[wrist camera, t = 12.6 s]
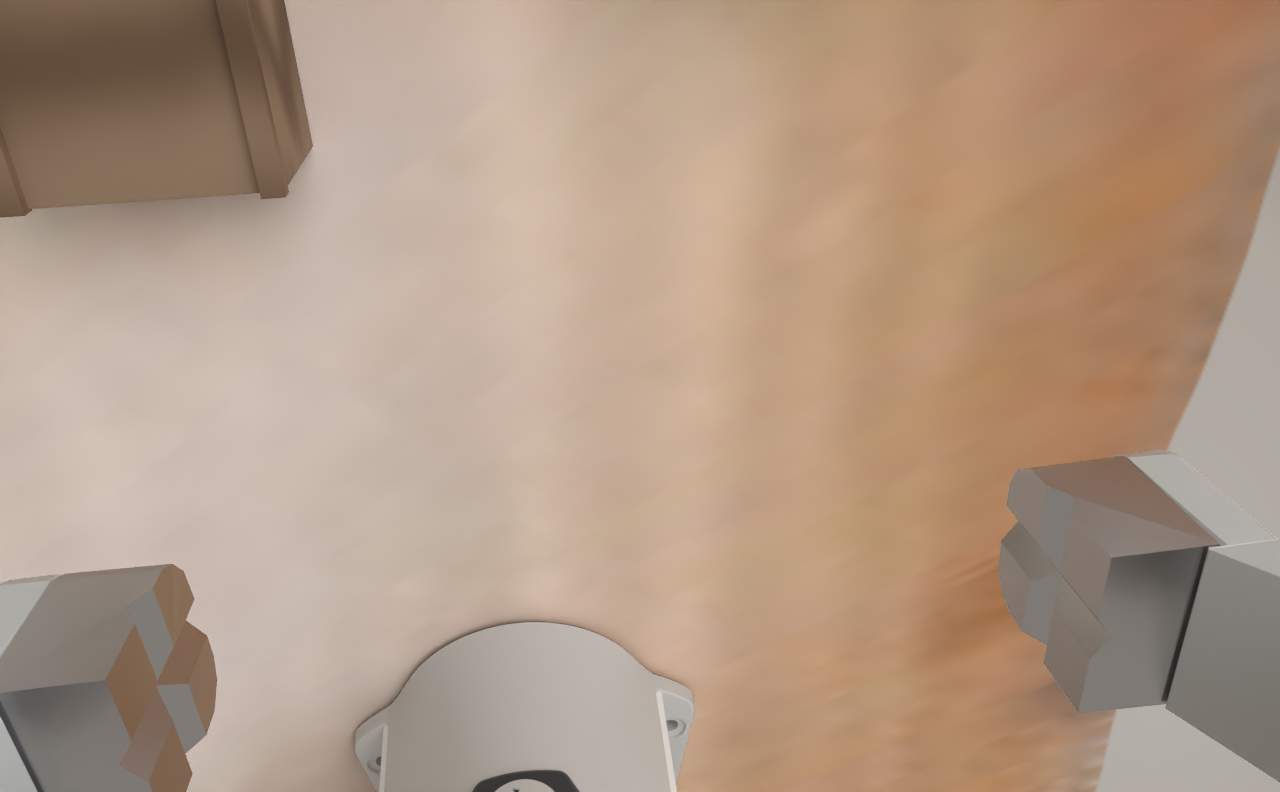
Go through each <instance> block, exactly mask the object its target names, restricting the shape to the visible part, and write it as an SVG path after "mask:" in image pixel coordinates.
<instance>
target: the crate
mask: <svg viewBox="0 0 1280 792" xmlns="http://www.w3.org/2000/svg"><path fill="white" fill-rule="evenodd" d="M312 146H313V145H312V140H311V135H310V130H309V125H308V120H307V114H306V109H305V104H304V99H303V94H302V89H301V84H300V79H299V74H298V69H297V64H296V59H295V54H294V49H293V44H292V39H291V34H290V28H289V23H288V18H287V13H286V8H285V3H284V0H0V217H13V216H25V215H26V214H28V213H29V212H30V211H32V209H36V208H50V207H64V206H78V205H93V204H107V203H121V202H135V201H150V200H164V199H178V198H192V197H207V196H221V195H235V194H249V193H260V196H261V199H268V198H282V197H286V196H287V194H288V192H289V191H288V184H289V182H290V181H291V179H292V178H293V176H294V175H295V173H296V171H297V170H298V168H299V167H300V165H301V164H302V162H303V161H304V159H305V157H306V156H307V154H308V153H309V151H310V150H311V148H312Z"/></svg>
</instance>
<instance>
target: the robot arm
mask: <svg viewBox="0 0 1280 792" xmlns="http://www.w3.org/2000/svg"><path fill="white" fill-rule="evenodd" d="M1006 505H1007V506H1008V508H1009V509H1010V510H1011V512H1012V513H1013V514H1014V516H1015V517H1016V518H1017V520H1018V522H1017V523H1016V524H1015V526H1014V527H1013V528H1012V529H1011V530H1010V531H1009V532H1008V534H1007V535H1006V536H1005V537H1004V538H1003V539H1002V541H1001V546H1000V556H999V566H998V570H999V576H1000V583H1001V589H1002V595H1003V597H1004V600H1005V602H1006V605H1007V607H1008V609H1009V612H1010V614H1011V616H1012V617H1013V619H1014V620H1015V622H1016V623H1017V625H1018V626H1019V628H1020V629H1021V631H1022V632H1024V633H1026V634H1028V635H1029V636H1031V637H1033V638H1035V639H1037V640H1039V641H1041V642H1043V643H1044V644H1046V645H1047V647H1046V653H1045V658H1044V664H1045V666H1046V667H1047V669H1048V670H1049V672H1050V673H1051V674H1052V676H1053V677H1054V679H1055V680H1056V682H1057V683H1058V684H1059V686H1060V687H1061V689H1062V690H1063V692H1064V693H1065V695H1066V696H1067V697H1068V699H1069V700H1070V702H1071V703H1072V705H1073V706H1074V707H1075V709H1076V710H1077V712H1078V713H1085V712H1094V711H1104V710H1113V709H1123V708H1132V707H1142V706H1151V705H1160V704H1166V709H1168V710H1169V711H1171V712H1172V713H1174V714H1175V715H1177V716H1178V717H1180V718H1182V719H1183V720H1185V721H1186V722H1188V723H1189V724H1191V725H1192V726H1194V727H1196V728H1197V729H1198V730H1200V731H1201V732H1203V733H1205V734H1206V735H1208V736H1209V737H1211V738H1212V739H1214V740H1215V741H1217V742H1219V743H1220V744H1222V745H1223V746H1225V747H1226V748H1228V749H1230V750H1231V751H1232V752H1234V753H1235V754H1237V755H1239V756H1240V757H1242V758H1243V759H1245V760H1247V761H1248V762H1249V763H1251V764H1253V765H1254V766H1256V767H1257V768H1259V769H1260V770H1262V771H1263V772H1265V773H1266V774H1268V775H1269V776H1271V777H1273V778H1274V779H1276V780H1277V781H1279V782H1280V539H1277V538H1276V537H1275V536H1274V535H1273V534H1271V533H1270V532H1269V531H1268V530H1267V529H1265V528H1264V527H1263V526H1262V525H1261V524H1259V523H1258V522H1257V521H1256V520H1255V519H1254V518H1252V517H1251V516H1250V515H1249V514H1248V513H1247V512H1245V511H1244V510H1243V509H1242V508H1241V507H1239V506H1238V505H1237V504H1236V503H1235V502H1234V501H1232V500H1231V499H1230V498H1229V497H1228V496H1226V495H1225V494H1224V493H1223V492H1222V491H1220V490H1219V489H1218V488H1217V487H1216V486H1215V485H1213V484H1212V483H1211V482H1210V481H1209V480H1207V479H1206V478H1205V477H1204V476H1203V475H1201V474H1200V473H1199V472H1198V471H1197V470H1196V469H1194V468H1193V467H1192V466H1191V465H1190V464H1188V463H1187V462H1186V461H1185V460H1184V459H1183V458H1181V457H1180V456H1179V455H1178V454H1176V453H1173V452H1170V451H1167V450H1163V449H1158V450H1151V451H1144V452H1138V453H1131V454H1124V455H1117V456H1113V457H1110V458H1103V459H1095V460H1087V461H1079V462H1071V463H1064V464H1056V465H1048V466H1040V467H1032V468H1025V469H1017V470H1016V472H1015V474H1014V476H1013V478H1012V480H1011V482H1010V485H1009V491H1008V498H1007V504H1006ZM193 601H194V597H193V594H192V592H191V589H190V586H189V584H188V581H187V579H186V576H185V574H184V571H183V570H181V569H179V568H178V567H176V566H175V565H173V564H165V565H155V566H144V567H133V568H122V569H112V570H101V571H90V572H79V573H69V574H64V575H48V576H40V577H31V578H23V579H14V580H8V581H6V582H3V583H1V584H0V792H186V790H187V787H188V785H189V782H190V779H191V776H192V771H191V768H190V766H189V763H188V760H187V758H186V755H185V753H187V752H188V751H189V750H190V749H191V748H192V747H193V746H194V745H196V744H197V743H198V742H199V741H200V740H201V739H202V738H203V737H205V736H206V734H207V731H208V728H209V725H210V722H211V719H212V716H213V713H214V709H215V697H216V685H217V677H216V670H215V663H214V656H213V653H212V650H211V647H210V644H209V640H208V637H207V635H205V634H204V633H202V632H201V631H200V630H198V629H197V628H195V627H194V626H193V625H191V624H190V623H188V622H187V621H186V617H187V615H188V613H189V610H190V608H191V606H192V603H193ZM693 716H694V699H693V694H692V692H691V691H690V690H689V689H688V688H687V687H685V686H684V685H682V684H680V683H677V682H675V681H672V680H670V679H667V678H664V677H661V676H658V675H655V674H652V673H651V672H649V671H648V670H647V669H645V668H644V667H643V666H642V665H641V664H640V663H639V662H638V661H637V660H636V659H634V658H633V657H632V656H631V655H630V654H629V653H628V652H627V651H626V650H624V649H623V648H622V647H620V646H619V645H617V644H616V643H614V642H612V641H611V640H609V639H607V638H605V637H603V636H601V635H599V634H596V633H594V632H591V631H588V630H585V629H582V628H578V627H574V626H569V625H564V624H557V623H546V622H525V623H514V624H507V625H501V626H496V627H492V628H488V629H484V630H481V631H478V632H475V633H472V634H469V635H467V636H465V637H462V638H460V639H458V640H456V641H454V642H452V643H450V644H448V645H447V646H445V647H443V648H442V649H440V650H439V651H437V652H436V653H435V654H433V655H432V656H431V657H430V658H428V659H427V660H426V661H425V662H424V663H423V664H422V665H421V666H420V667H419V668H418V669H417V670H416V671H415V672H414V673H413V675H412V676H411V677H410V679H409V680H408V682H407V683H406V685H405V686H404V688H403V689H402V691H401V692H400V694H399V695H398V697H397V698H396V699H395V701H394V702H393V703H392V704H391V705H390V706H388V707H387V708H385V709H383V710H382V711H380V712H379V713H377V714H375V715H374V716H372V717H371V718H370V719H368V720H367V721H365V722H364V723H363V724H362V725H361V726H360V727H359V728H358V729H357V731H356V733H355V743H354V750H355V754H356V756H357V758H358V760H359V762H360V764H361V765H362V767H363V769H364V771H365V772H366V774H367V776H368V778H369V779H370V781H371V783H372V785H373V787H374V788H375V790H376V792H677V789H676V783H677V779H678V775H679V771H680V767H681V763H682V759H683V755H684V752H685V748H686V744H687V740H688V736H689V732H690V728H691V724H692V720H693ZM668 720H671V721H668Z"/></svg>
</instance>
